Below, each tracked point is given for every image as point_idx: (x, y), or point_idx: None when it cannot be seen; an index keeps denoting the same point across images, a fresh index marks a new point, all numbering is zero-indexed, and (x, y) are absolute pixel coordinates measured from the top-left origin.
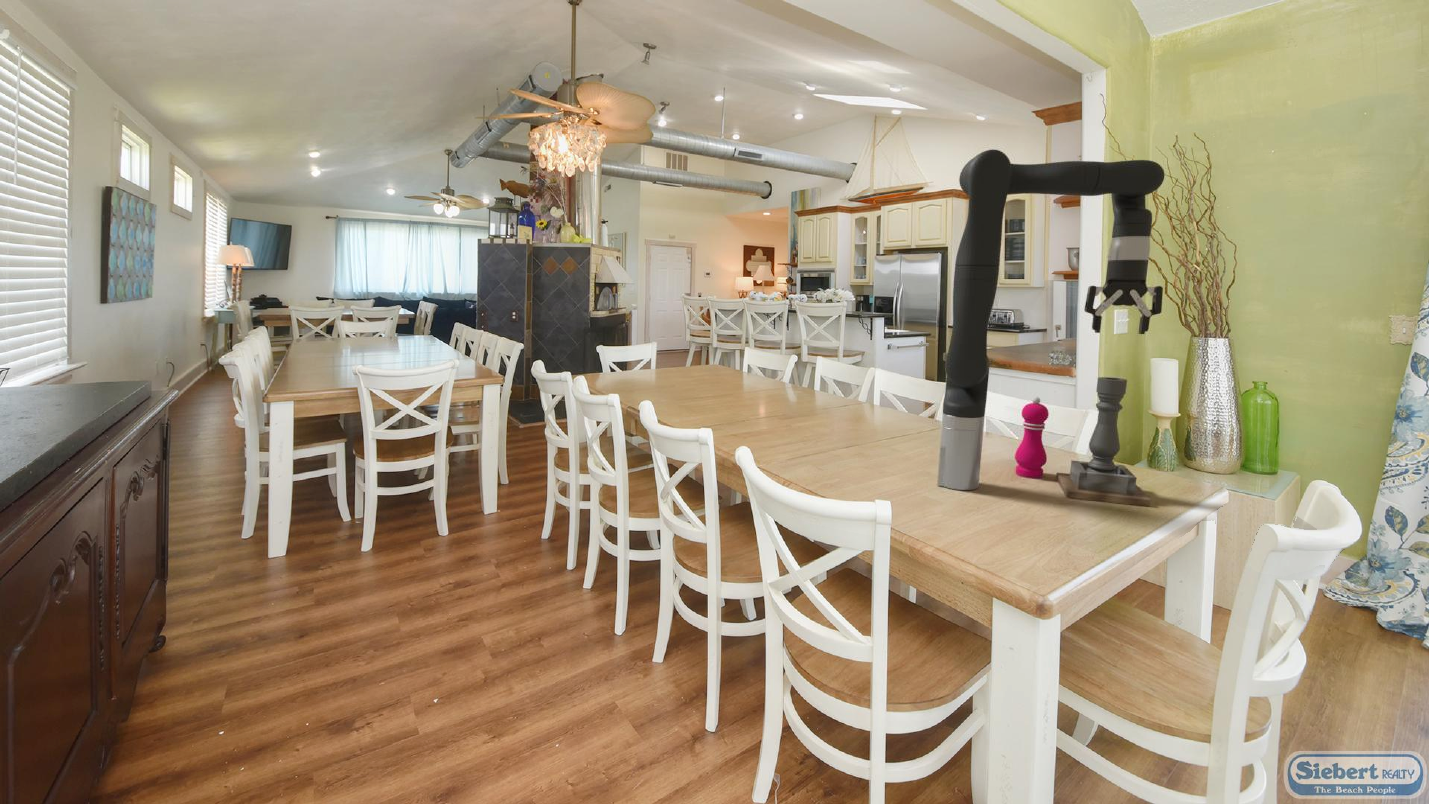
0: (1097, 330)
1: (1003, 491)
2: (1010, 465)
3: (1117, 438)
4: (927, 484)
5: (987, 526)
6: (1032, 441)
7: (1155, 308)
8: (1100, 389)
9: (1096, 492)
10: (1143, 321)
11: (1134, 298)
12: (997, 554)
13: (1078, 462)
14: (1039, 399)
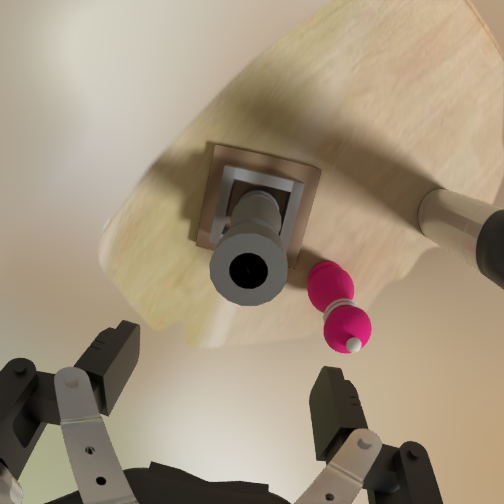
0: (339, 370)
1: (395, 190)
2: None
3: (239, 209)
4: None
5: (444, 64)
6: (343, 291)
7: (23, 388)
8: (284, 249)
9: (279, 168)
10: (109, 359)
11: (126, 497)
12: (443, 5)
13: None
14: (351, 343)
